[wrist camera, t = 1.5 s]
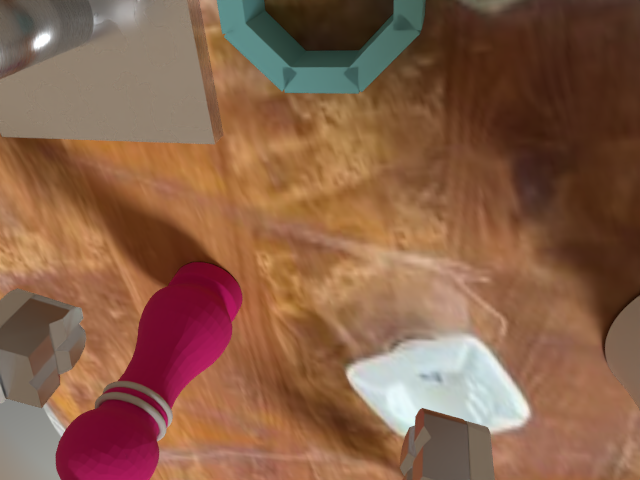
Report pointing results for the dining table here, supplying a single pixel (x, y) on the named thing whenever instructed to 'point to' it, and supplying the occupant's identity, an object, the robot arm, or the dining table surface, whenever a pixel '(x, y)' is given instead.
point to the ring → (316, 66)
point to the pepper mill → (153, 377)
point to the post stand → (106, 71)
